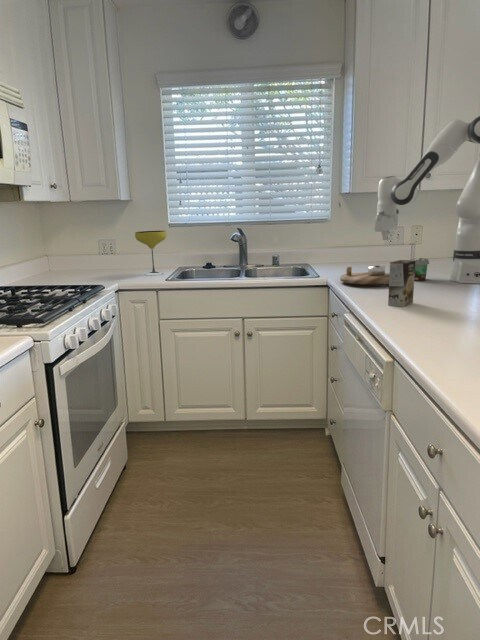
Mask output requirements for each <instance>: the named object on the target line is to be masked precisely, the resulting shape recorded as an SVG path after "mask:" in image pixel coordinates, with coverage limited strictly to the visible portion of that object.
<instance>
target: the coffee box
mask: <svg viewBox="0 0 480 640" xmlns="http://www.w3.org/2000/svg"><path fill="white" fill-rule="evenodd" d="M415 261H416V260H408V259H407V260H406V259H405V260H404V259H399V260H394V261H391V262H389V273H390V275H389V284H388V299H387V305H388V306H394V307H402V308H403V307H407V306H409V305H411V304H413V302H414V293H415V292H414V291H415V290H414V289H415V281H414V277H415Z"/></svg>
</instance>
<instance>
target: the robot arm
mask: <svg viewBox="0 0 480 640" xmlns="http://www.w3.org/2000/svg"><path fill="white" fill-rule="evenodd" d="M466 142H471V143H472V144H473V143H474V144H478V145H480V115H478V116H477V117H475V118H474V120H471V122H466V121H464V120H462V119H457V118H456V119H453V120H451V121H450V122H449V123H448V124H447V125H445V127H443V129H441V131H440V132H439V133H438V134H437V135H436V136H435V138H434V139H433V140H432V142H431V143H430V145H429V146H428V148H427V150H426V151H425V153H424V155H422V158H421V159H420V161H419V162H418V163H417V164H416V165H415V167H414V168H413V169H412V170H411V172H409V174H408V175H407V176H406V178H404V179H403V180H402V179H400V178H398V177H397V176H395V175H390V176H385V177H383V178H381V179H380V180H379V182H378V187H377V198H378V201H377V205H376V206H377V207H376V208H377V209H376V216H375V219H374V228H373V229H374V232H376V233H377V232H379V233H380V232H381V236H382V241H387V240H389V236H390V233H391V231H394V230H396V229H397V227H398V221H399V216H398V215H399V214H400V210H399V209H398V207H397V206H405V205H407V204H411V203H412V202H415V200H416V199H417V197H418V193H419V190H418V186H419V185H420V184H421V183H422V181H424V179H425V178H426V177H427V175H428V174H429V173H431V171H433V170H434V169H436V168H438V167H440V166H441V165H442V166H443V165H444V164H445V163H446V162H448V161H449V160H450V159H451V158H452V157H453V156H454V155H455V153H456V152H457V151H458V149H460V147H461V146H462V145H463V144H464V143H466ZM455 214H456V216H458V217H459V218H458V224H457V229H456V232H455V243H454V250H453V254H452V255H453V256H452V261H453V264H452V269H451V273H450V276H449V278H448V280H449V281H452V282H456V283H460V284H480V153H479V154H478V157H477V159H476V162H475V164H474V166H473V169H472V172H471V173H470V176H469V178H468V180H467V182H466V185H465V186H464V188H463V190H462V191H461V194H460V196H459V198H458V200H457V202H456V204H455Z"/></svg>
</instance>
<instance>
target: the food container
mask: <svg viewBox="0 0 480 640" xmlns="http://www.w3.org/2000/svg"><path fill="white" fill-rule="evenodd" d="M414 261H415V277H414V282H425V281H426V278H427V271H428V265H429V264H430V260H429V258H424V257H419V258H418V259H416V260H414Z"/></svg>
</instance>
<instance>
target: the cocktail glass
mask: <svg viewBox="0 0 480 640" xmlns="http://www.w3.org/2000/svg"><path fill="white" fill-rule="evenodd" d="M134 237H135V239H136V241H138V242H140V243H142V244H144V245H146V246H147V247H148V248H149V249H150V250H151V260H152V271H151V272H149V273H159V271H156V270H155V264H154V263H155V261H154V252H153V251H154V249H155V247H156V246H157V245H159V244H160V243H162V242H163V241H165V239H167V231H166V230H146V231H136V232H134Z"/></svg>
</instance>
